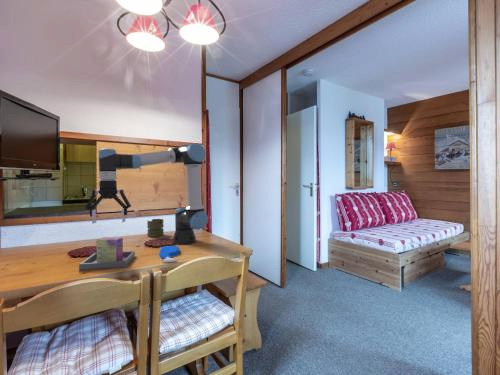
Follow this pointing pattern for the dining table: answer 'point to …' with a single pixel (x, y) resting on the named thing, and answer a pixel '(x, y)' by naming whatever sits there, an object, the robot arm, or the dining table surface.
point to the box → (109, 249)
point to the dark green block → (155, 228)
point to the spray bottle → (168, 253)
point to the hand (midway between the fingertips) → (109, 222)
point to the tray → (94, 265)
